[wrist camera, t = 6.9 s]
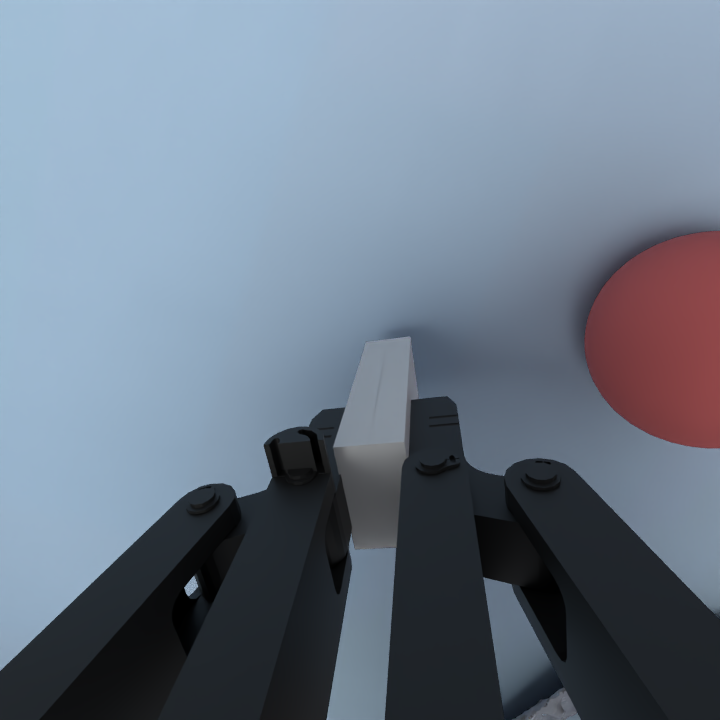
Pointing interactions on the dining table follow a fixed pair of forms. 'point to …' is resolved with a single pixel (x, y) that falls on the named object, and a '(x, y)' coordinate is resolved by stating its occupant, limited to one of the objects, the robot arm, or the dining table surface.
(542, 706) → the food plate
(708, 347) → the ball
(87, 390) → the dining table surface
